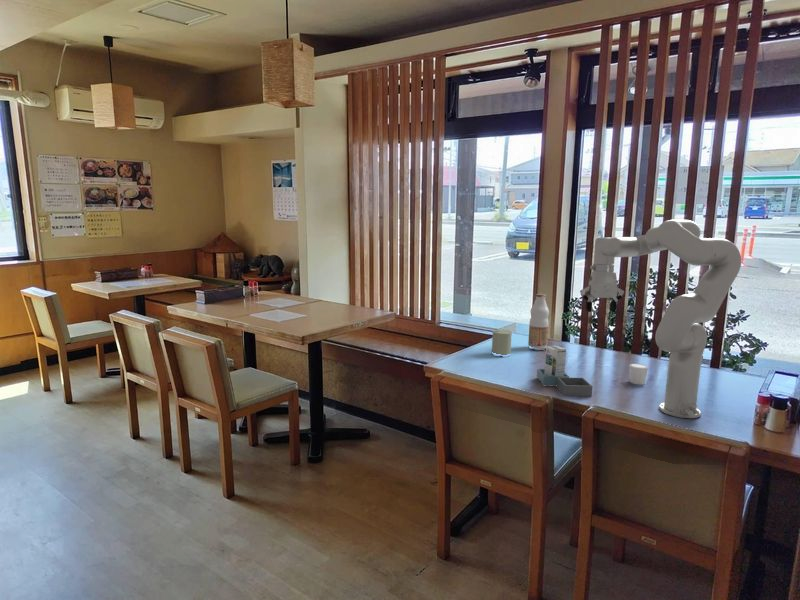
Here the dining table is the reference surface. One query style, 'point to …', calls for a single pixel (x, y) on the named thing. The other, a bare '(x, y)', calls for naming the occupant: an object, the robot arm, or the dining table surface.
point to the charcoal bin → (574, 386)
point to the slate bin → (548, 377)
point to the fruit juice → (539, 323)
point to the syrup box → (555, 361)
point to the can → (501, 342)
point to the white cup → (638, 373)
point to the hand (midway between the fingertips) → (600, 311)
